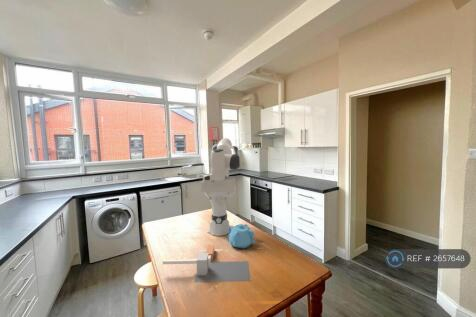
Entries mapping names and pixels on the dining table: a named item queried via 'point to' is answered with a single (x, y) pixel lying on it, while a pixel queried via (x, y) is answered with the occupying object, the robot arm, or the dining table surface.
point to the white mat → (214, 250)
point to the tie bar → (185, 261)
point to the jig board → (221, 270)
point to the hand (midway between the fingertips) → (218, 199)
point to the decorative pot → (241, 236)
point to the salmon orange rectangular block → (210, 251)
